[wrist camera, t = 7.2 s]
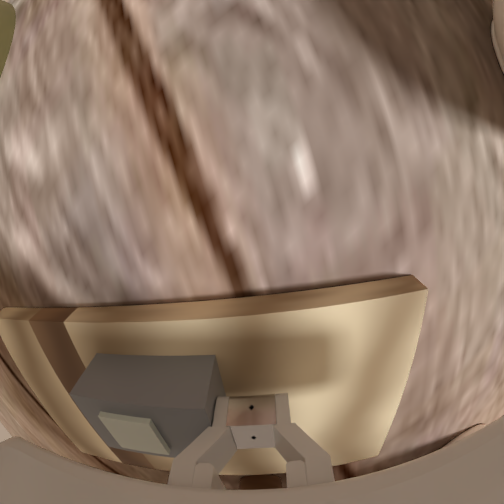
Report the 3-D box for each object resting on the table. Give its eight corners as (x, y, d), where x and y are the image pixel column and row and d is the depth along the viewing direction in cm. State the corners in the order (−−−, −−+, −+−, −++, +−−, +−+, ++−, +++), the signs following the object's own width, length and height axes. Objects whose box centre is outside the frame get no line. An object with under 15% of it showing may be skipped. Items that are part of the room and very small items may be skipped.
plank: (412, 274, 11) (428, 288, 10) (372, 440, 16) (377, 455, 14) (4, 307, 13) (-8, 317, 11) (86, 440, 17) (81, 451, 16)
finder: (215, 354, 11) (203, 415, 8) (230, 412, 12) (225, 466, 9) (96, 352, 11) (66, 398, 8) (125, 406, 13) (106, 450, 10)
